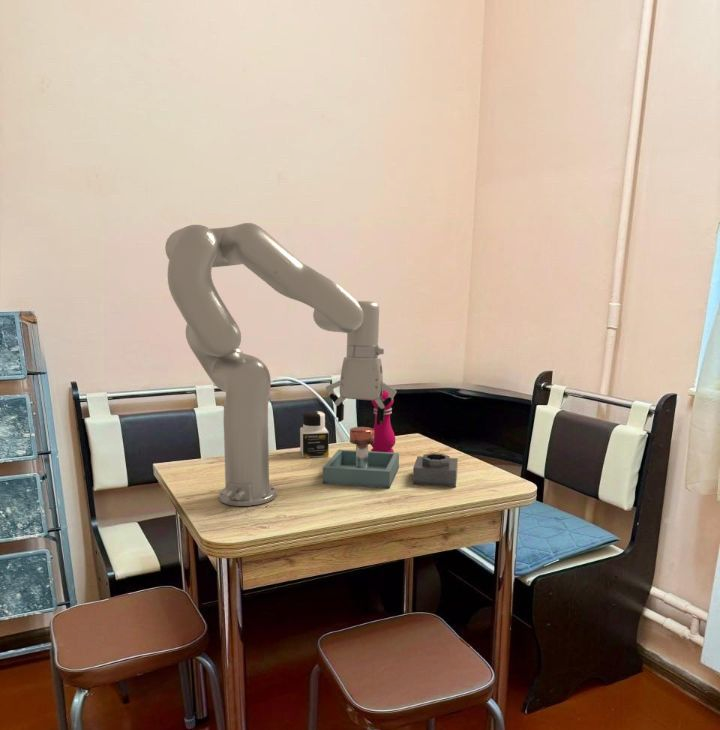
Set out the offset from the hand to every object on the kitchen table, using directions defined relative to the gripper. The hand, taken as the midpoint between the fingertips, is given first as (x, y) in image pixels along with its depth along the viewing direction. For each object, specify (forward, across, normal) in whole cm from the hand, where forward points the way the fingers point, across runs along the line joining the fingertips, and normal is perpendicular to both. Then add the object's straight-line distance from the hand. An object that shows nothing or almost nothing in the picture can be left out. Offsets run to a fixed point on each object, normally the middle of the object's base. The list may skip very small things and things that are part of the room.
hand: (359, 422), depth 142 cm
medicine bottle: (+14, +16, -17) cm, 27 cm away
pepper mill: (+13, -3, -19) cm, 23 cm away
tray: (+14, -1, -1) cm, 14 cm away
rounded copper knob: (+13, -1, -1) cm, 13 cm away
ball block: (+13, -19, -2) cm, 23 cm away
